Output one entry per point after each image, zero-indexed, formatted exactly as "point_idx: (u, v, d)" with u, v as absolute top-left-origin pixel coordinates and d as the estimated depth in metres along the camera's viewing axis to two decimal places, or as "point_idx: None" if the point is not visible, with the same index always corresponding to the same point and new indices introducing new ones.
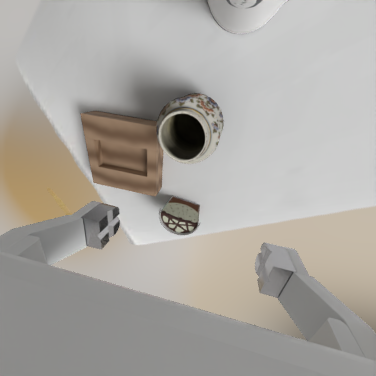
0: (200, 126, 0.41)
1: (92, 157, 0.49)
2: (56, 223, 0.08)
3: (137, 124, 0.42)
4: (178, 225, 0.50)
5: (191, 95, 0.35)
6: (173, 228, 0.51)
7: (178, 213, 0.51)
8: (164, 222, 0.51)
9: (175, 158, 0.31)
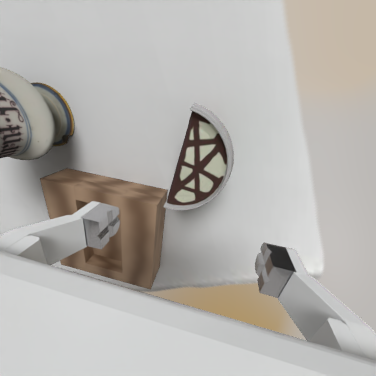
0: None
1: (110, 274, 0.35)
2: (56, 223, 0.08)
3: (47, 204, 0.31)
4: (199, 165, 0.19)
5: None
6: (213, 181, 0.19)
7: None
8: (195, 200, 0.21)
9: None
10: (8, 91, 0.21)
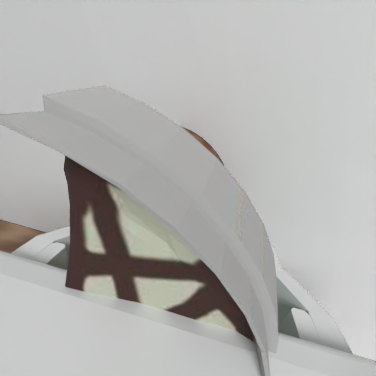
0: None
1: None
2: None
3: None
4: None
5: None
6: None
7: None
8: None
9: None
10: None
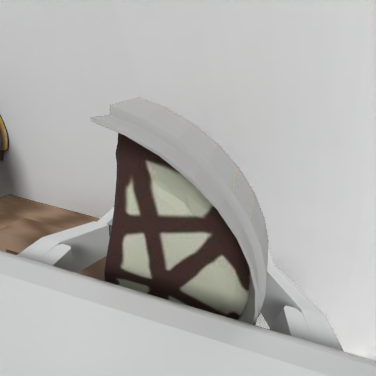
0: None
1: None
2: (84, 230, 0.08)
3: None
4: (166, 279, 0.06)
5: None
6: None
7: None
8: None
9: None
10: None
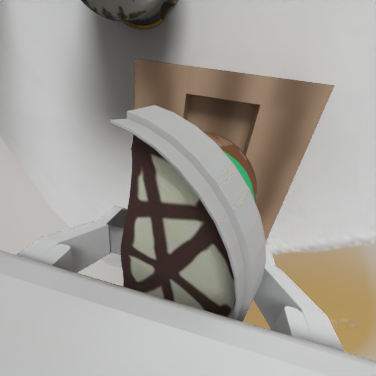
0: None
1: None
2: (83, 230, 0.08)
3: None
4: (167, 262, 0.07)
5: None
6: (205, 307, 0.07)
7: None
8: None
9: None
10: None
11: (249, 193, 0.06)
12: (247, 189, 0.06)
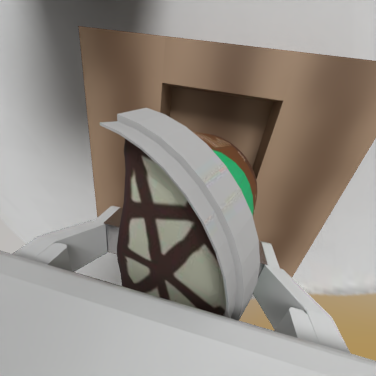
0: None
1: None
2: (80, 229, 0.08)
3: (89, 108, 0.14)
4: (162, 263, 0.07)
5: None
6: None
7: None
8: None
9: None
10: None
11: (240, 193, 0.06)
12: (238, 189, 0.06)
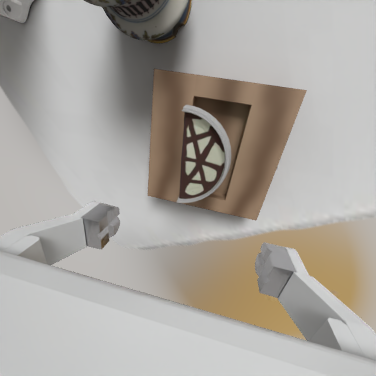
0: None
1: (209, 203, 0.31)
2: (56, 223, 0.08)
3: (153, 108, 0.26)
4: (200, 157, 0.21)
5: None
6: (216, 169, 0.21)
7: None
8: (204, 190, 0.23)
9: None
10: None
11: (221, 125, 0.20)
12: (220, 124, 0.20)
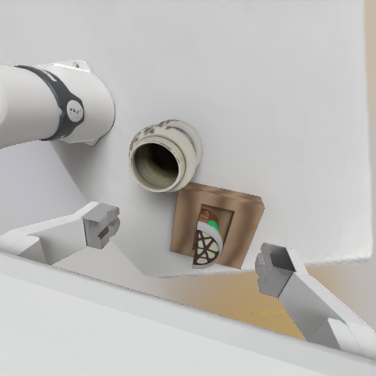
0: None
1: None
2: (56, 223, 0.08)
3: (177, 206, 0.43)
4: (206, 247, 0.38)
5: None
6: (214, 253, 0.38)
7: None
8: (207, 262, 0.40)
9: (177, 178, 0.27)
10: (190, 137, 0.34)
11: (217, 232, 0.37)
12: (216, 231, 0.37)
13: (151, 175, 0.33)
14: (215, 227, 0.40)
